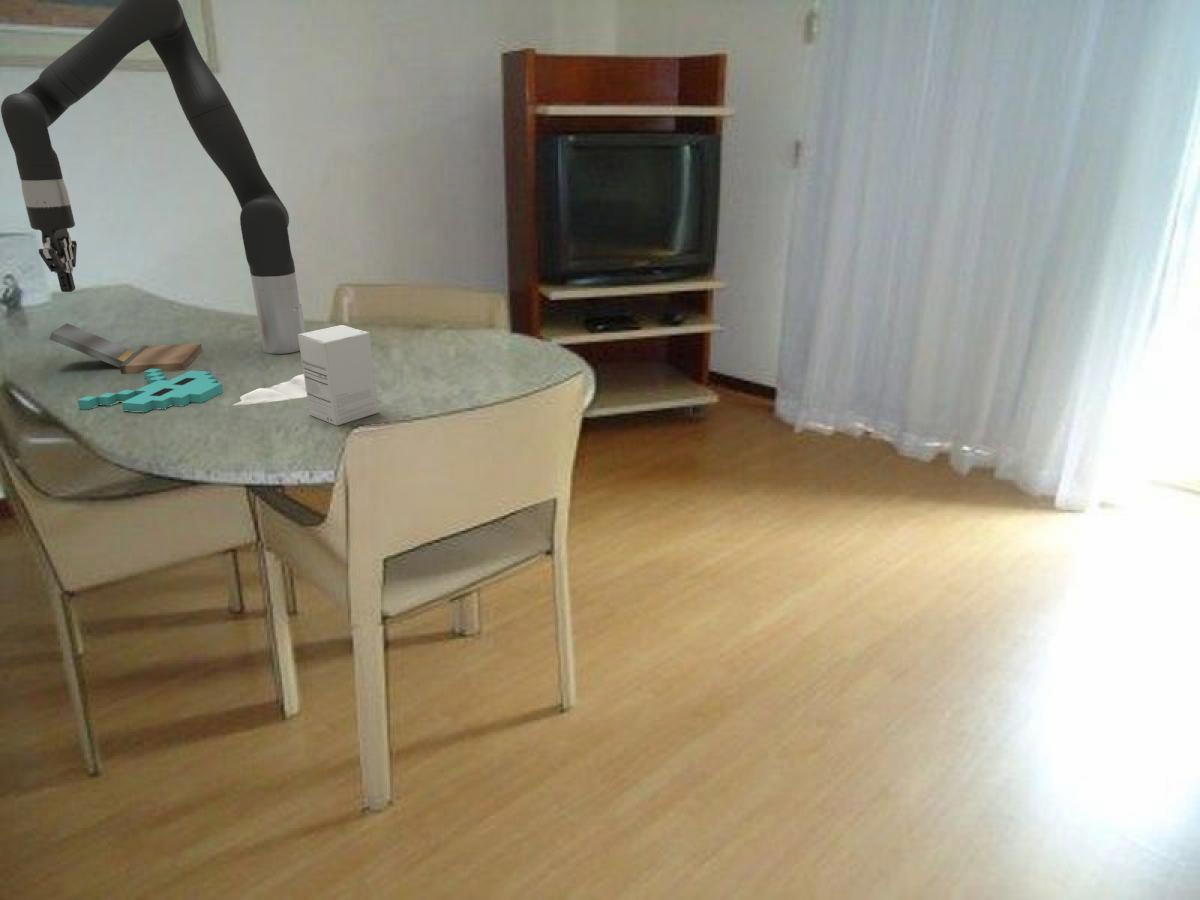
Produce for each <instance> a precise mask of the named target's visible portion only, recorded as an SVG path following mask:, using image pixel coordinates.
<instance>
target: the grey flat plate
mask: <svg viewBox="0 0 1200 900" xmlns="http://www.w3.org/2000/svg"><path fill="white" fill-rule="evenodd" d="M48 339H49V340H50V341H54V342H56V343H59V344H60V345H63V346H65V347H68V348H70V349H73V350H75V351H78V352H80V353H82V354H85V355H87V356H90V357H91V358H92V357H93V358H95V359H98V360H100V361H102V362H104V363H107V364H109V365H112V366H114V367H116V368H118V369H120V365H121V364H122V363H123V362H125V361H126V360H127V359H128V358H129V357H131V356H132V355H133V354H134V353H135V352H136V351H134V350H132V349H130V348H128V347H125V346H123V345H120V344H118V343H116V342H113V341H111V340H109V339H106V338H104V337H101V336H99V335H97V334H95V333H92V332H89V331H87V330H84V329H82V328H80V327H78V326H75V325H73V324H70V323H68V322H67V323H65V324H63V325H62V326H59V327H58V328H56V329H55V330H53V331H52V332H51V333H50V335H49V338H48Z"/></svg>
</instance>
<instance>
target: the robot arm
mask: <svg viewBox="0 0 1200 900" xmlns="http://www.w3.org/2000/svg"><path fill="white" fill-rule="evenodd" d="M185 17H186V16H185V13H184V11H183V8H182V5H181V3H180V1H179V0H121V1H120V2H119V3H118V5H117V6H116V7H115V8H114V9H113V11H112V12H111V13H110V14H108V16H107V17H106V18H105V19H104V20H103V21H102V22H101V23H99V25H98V26H97V27H95V28H94V29H93V30H92V31H91V32H90V33H88V34H87V35H86V36H85V37H84V38H82V39H81V40H80V41H78V42H77V43H76V44H74V45H73V46H72V47H70V48H69V49H67V51H66V52H64V53H62V55H60V56H58V57H57V58H56V59H55V60H53V62H52V63H50V64H49V65H47V67H45V69H43V70H42V71H41V73H40V74H39V76H38V78H37V79H36V80H34V82H32V83H31V84H29V86H27V87H26V88H24V89H23V90H22V91H21V92H19V93H17V92H16V93H12V94H11V93H10V94H8V95H7V96H6V97H5V98H4V99H3V101H2V103H1V106H0V113H1V119H2V122H3V127H4V128H5V132H6V134H7V137H8V140H9V143H10V144H11V148H12V150H13V152H14V155H15V161H16V162H15V163H16V166H17V170H18V174H19V179H20V183H21V184H20V185H21V192H22V196H23V201H24V205H25V209H26V213H27V217H28V221H29V225H30V228H31V229H33V230H36V231H38V230H39V231H40V232H41V243H42V247H43V248H39V249H38V254H39V255H40V258H41V259H42V260H43V262H44V263H45V265H46V266H47V268H48V270H49V272H51V273H54V274H57V275H56V276H57V279H58V283H59V287H60V290H61V292H62V293H72V292H74V291H76V285H75V280H74V277H73V271H74V268H76V264H77V248H78V246H77V245H78V244H77V243H78V242H77V241H76V240H72V239H71V237H70V233H69V231H68V229H71V228H72V229H73V228H74V227H76V223H75V220H74V219H75V218H74V215H73V209H72V206H71V205H72V204H71V201H70V196H69V193H68V189H67V186H66V183H65V181H64V177H63V172H62V169H61V168H62V167H61V164H60V161H59V157H58V155H57V153H56V151H55V150H54V147H53V145H52V141H51V137H50V133H49V129H48V128H49V127H50V126H51V125H53V124H54V123H55V122H56V121H57V120H58V119H59V118H60V117H61V116H62V115H63V114H65V112H66V111H67V110H68V109H69V108H70V107H71V106H72V105H74V104H76V103H77V102H79V101H80V100H81V99H83V98H84V97H85V96H86V95H87V94H89V93H90V92H92V90H94V89H95V88H96V87H97V86H99V84H100V83H102V82H103V80H105V79H106V77H107V76H108V75H110V73H112V71H113V70H114V69H115V68H116V66H118V64H120V62H121V61H122V60H123V59H124V58H125V57H126V56H127V55H128V54H130V53H131V52H132V51H134V50H135V49H136V48H137V47H139V46H141V45H142V44H144V43H145V42H147V41H149V43H150V44H151V47H153V48H154V51H155V52H156V54H157V55H158V57H159V58H160V60H161V62H162V64H163V65H164V67H165V69H166V71H167V73H168V76H169V78H170V81H171V84H172V86H173V89H174V92H175V95H176V98H177V100H178V102H179V105H180V107H181V109H182V111H183V113H184V115H185V117H186V120H187V121H188V123H189V125H190V127H191V129H192V131H193V133H194V134H195V136H196V139H197V140H198V141H199V143H200V145H201V146H202V148H203V150H204V152H206V154H207V155H208V156H209V157H210V159H211V160H212V161H213V163H214V164H215V166H217V168H218V170H220V171H221V172H222V174H223V175H224V177H225V178H226V180H227V181H228V183H229V185H230V186H231V188H232V190H233V193H234V195H235V197H236V198H237V201H238V203H239V206H240V208H241V211H240V214H239V215H240V216H239V218H240V219H239V223H240V231H241V236H242V237H241V238H242V242H243V247H244V253H245V259H246V261H247V264H248V266H249V268H248V269H249V272H250V277H251V283H252V291H253V296H254V301H255V310H256V316H257V322H258V328H259V334H260V341H261V346H262V351H263V352H264V353H266V354H272V355H273V354H274V355H278V354H279V355H280V354H281V355H282V354H292V353H296V352H300V346H299V339H298V334H301V333H306V332H307V331H306V326H305V319H304V311H303V305H302V304H301V303H300V298H299V289H298V282H297V277H296V276H297V275H296V266H295V261H294V258H293V254H292V250H291V243H290V237H289V236H290V235H289V229H288V227H289V223H290V217H289V212H288V210H287V208H286V207H285V204H284V203H283V202H282V200H281V199H280V197H279V196H278V194H277V193H276V192H275V190H274V188H273V186H272V184H271V183H270V182H269V180H268V178H267V176H266V175H265V173H264V171H263V169H262V168H261V165H260V164H259V161H258V159H257V156H256V154H255V152H254V151H255V150H254V149H253V147H252V144H251V142H250V140H249V137H248V135H247V133H246V131H245V129H244V127H243V125H242V122H241V119H239V116H238V114H237V113H236V109H234V107H233V104H232V103H231V100H230V99H229V98H228V95H227V94H226V92H225V90H224V89H223V87H222V85H221V84H220V83H219V81H218V79H217V77H215V75H214V73H213V72H212V70H211V68H209V66H208V64H207V63H206V62H205V60H204V58H203V56H202V55H201V52H200V51H199V48H198V46H197V44H196V42H195V39H194V38H193V35H192V33H191V30H190V28H189V26H188V23H187V19H186V18H185Z"/></svg>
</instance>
